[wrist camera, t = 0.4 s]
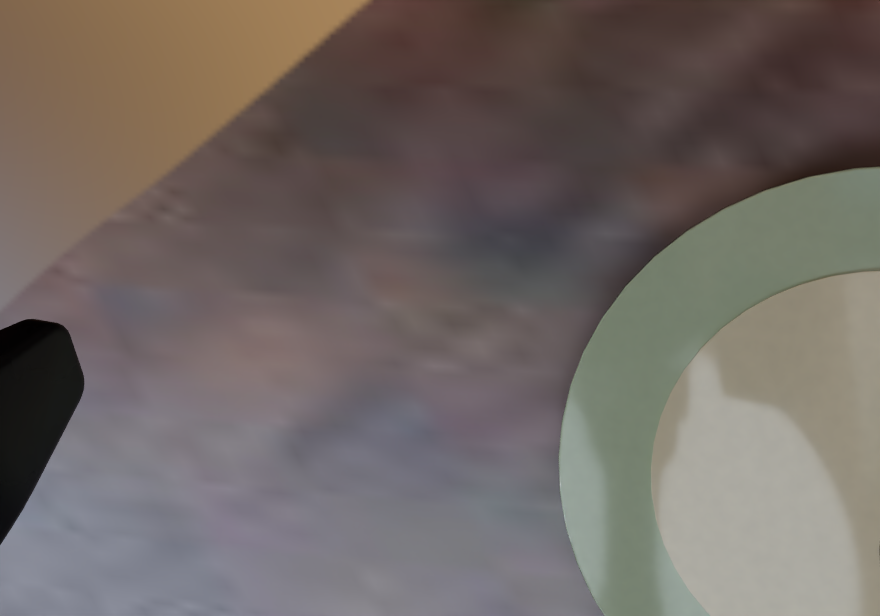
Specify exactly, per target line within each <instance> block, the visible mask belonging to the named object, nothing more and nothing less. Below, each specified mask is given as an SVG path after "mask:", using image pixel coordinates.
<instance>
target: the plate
mask: <svg viewBox="0 0 880 616" xmlns="http://www.w3.org/2000/svg"><path fill="white" fill-rule="evenodd" d="M558 459H559V484H560V497H561V502H562V508H563V514H564V519H565V525H566V530H567V533H568V536H569V539H570V543H571V546H572V549H573V552H574V555H575V558H576V561H577V564H578V566H579V569H580V571H581V573H582V575H583V577H584V579H585V582H586V584H587V586H588V588H589V590H590V592H591V594H592V597H593V598H594V600H595V602H596V603H597V605H598V606H599V608H600V610H601V611H602V613H603V614H604V616H880V555H879V546H880V167H866V168H853V169H847V170H841V171H836V172H830V173H825V174H819V175H814V176H808V177H804V178H801V179H797V180H794V181H791V182H788V183H784V184H781V185H778V186H775V187H772V188H768V189H765V190H762V191H760V192H757V193H755V194H753V195H751V196H749V197H746V198H744V199H742V200H740V201H737V202H735V203H733V204H731V205H728V206H726V207H724V208H722V209H720V210H719V211H717V212H715V213H714V214H712V215H710V216H709V217H707V218H705V219H704V220H702V221H701V222H699V223H697V224H696V225H694V226H692V227H691V228H689V229H687V230H686V231H685V232H683V233H682V234H681V235H680V236H678V237H677V238H676V239H674V240H673V241H672V242H671V243H669V244H668V245H667V246H666V247H664V248H663V249H662V250H661V251H659V252H658V253H657V254H656V255H654V256H653V257H652V258H651V259H650V260H649V261H648V263H647V264H646V265H645V266H644V267H643V268H642V269H641V270H640V271H639V272H638V273H637V274H636V275H635V276H634V277H633V278H632V279H631V280H630V281H629V282H628V283H627V284H626V286H625V287H624V288H623V290H622V291H621V292H620V294H619V295H618V296H617V298H616V299H615V300H614V302H613V303H612V304H611V306H610V307H609V308H608V310H607V311H606V312H605V314H604V315H603V317H602V319H601V321H600V323H599V324H598V326H597V328H596V330H595V332H594V333H593V335H592V337H591V339H590V341H589V342H588V344H587V346H586V348H585V350H584V352H583V354H582V357H581V359H580V362H579V365H578V367H577V370H576V372H575V375H574V377H573V380H572V383H571V385H570V389H569V393H568V398H567V402H566V406H565V410H564V414H563V419H562V425H561V436H560V446H559V456H558Z"/></svg>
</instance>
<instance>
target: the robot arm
mask: <svg viewBox="0 0 880 616" xmlns="http://www.w3.org/2000/svg"><path fill="white" fill-rule="evenodd" d="M83 390H84V375H83V372H82V369H81V366H80V363H79V360H78V357H77V354H76V351H75V348H74V345H73V343H72V340H71V337H70V334H69V332H68V330H67V329H66V328H65V327H64V326H63V325H61V324H59V323H54V322H48V321H42V320H36V319H27V320H23V321H20V322H18V323H16V324H13V325H11V326H9V327H6V328H4V329H2V330H0V545H1V543H2V542H3V540H4V539H5V537H6V536H7V534H8V532H9V531H10V529H11V528H12V526H13V525H14V523H15V521H16V520H17V518H18V516H19V515H20V513H21V512H22V510H23V508H24V506H25V505H26V503H27V501H28V499H29V497H30V496H31V494H32V492H33V490H34V488H35V486H36V484H37V482H38V480H39V479H40V477H41V475H42V473H43V471H44V469H45V467H46V465H47V463H48V461H49V459H50V457H51V455H52V453H53V451H54V449H55V448H56V446H57V444H58V442H59V440H60V438H61V436H62V434H63V432H64V430H65V428H66V426H67V424H68V422H69V420H70V418H71V417H72V415H73V413H74V411H75V409H76V407H77V405H78V403H79V401H80V399H81V396H82V393H83ZM879 555H880V546H879Z"/></svg>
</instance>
